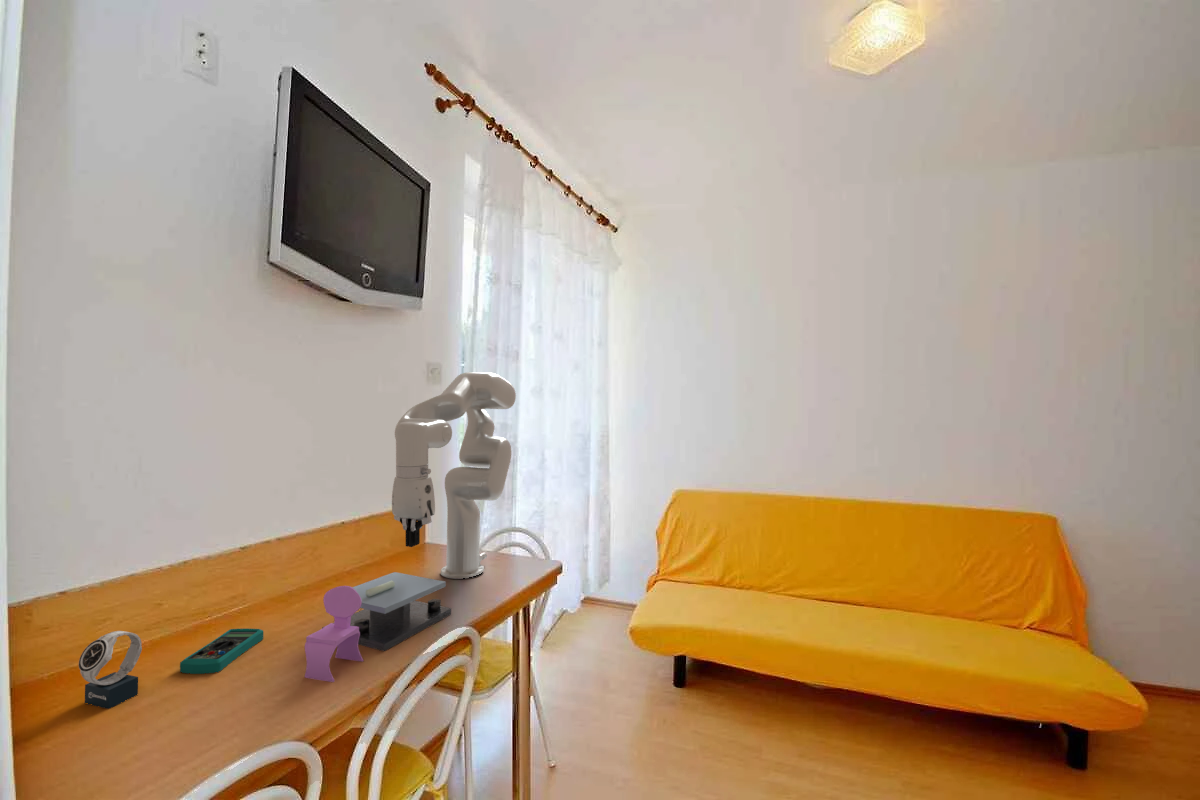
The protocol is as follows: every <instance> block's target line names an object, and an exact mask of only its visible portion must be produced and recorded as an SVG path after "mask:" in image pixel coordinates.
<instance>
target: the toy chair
mask: <svg viewBox="0 0 1200 800" xmlns="http://www.w3.org/2000/svg"><path fill="white" fill-rule="evenodd" d="M352 587H353V586H350V585H340V586H336V587H333V588H330V589H329V590H328V591H326V592H325V594H324V596H323V600H322V601H323V606H324V608H325V613H327V614H329V615H330V616H333V618H334V621H333V622H330V623H329V624H327V625H325V626H323V627H324V628H321V629H319V630H317V631H315V632H313V633H311V634H309V635H307V636H305V638H306V639H305V641H306V642H305V643H304V652H305V658H306V659H305V660H306V668H305V674H304V678H306V679H312V680H318V681H324V682H330V683H334V682H336V680H335V678H334V677H333V674H332V672H331V669H330V668H331V667H330V662H331V659H332V656H333V654H334V653H335V651H336V653H335V659H343V660H349V661H354V662H355V661H356V662H364V660H365V659H364V658H363V657H362V654H361V652H360V649H359V644H358V640H359V637H360V632H359V627H357V626H350V622H351V616H352V615H353V614H354V613H357V612H359V611H360V609H361V608H360V607H361V604H362V601H361V597H360V595H359V594H358V593H357V591H356V590H355V589H354V588H352Z"/></svg>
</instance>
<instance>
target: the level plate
mask: <svg viewBox="0 0 1200 800" xmlns="http://www.w3.org/2000/svg"><path fill="white" fill-rule="evenodd" d="M446 585H447V582H446V581H444V580H439V579H433V578H427V577H424V576H423V577H422V576H419V575H418V576H417V575H414V574H413V575H412V574H406V573H402V572H397V571H394V572H391V573H388V574H385V575H382V576H379V577H378V578H375V579H372V580H369V581H366V582H364V583H361V584H358V585H355V586H351V587H352V588H354V589H355V590H356V591H357V593H358V594H359V595H360V597H361V601H362V604H361V607H360V608H359V609H361V610H363V609H367V610H371V611H375V612H380V613H384V614H386V613H388V612H390V611H392V610H395V609H397V608H399V607H401V606H404V605H406V604H408V603H410V602H412V601H418V600H419V599H421V598H423V597H425V596H428V595H431V594H432V593H435V592H437V591H439V590H441V589H443V588H446Z"/></svg>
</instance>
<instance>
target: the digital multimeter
mask: <svg viewBox="0 0 1200 800" xmlns="http://www.w3.org/2000/svg"><path fill="white" fill-rule="evenodd" d="M263 640H264V630H263V629H260V628H231V629H229V630H227V631H226V632H224V633H223V634H221V635H220V636H218V637H217V638H215V639H213V640H212V641H211V642H209V643H207V644H206V645H204V646H203V647H201V648H199V649H198V650H196V651H195V652H193V653H192V654H190V655H188V656H186V657H185V658H184V659H183V660H182V661H180V663H179V673H181V672H182V673H183V674H189V673H190V674H191V675H192V674H193V675H196V674H197V675H200V674H201V675H204V674H205V673H206V674H216V673H215V672H217V673H219V671H220V672H221V671H222V670H224V669H225V668H226V667H227V666H228V664H229V665H230V664H231V663H233V662H234V661H235V660H236V659H237V657H238V656H239V657H240V656H242V655H243V654H245V653H246V652H247V651H248V649H249V648H250V649H251V648H253V647H255V646H256V645H257V644H258V642H259V643H260V642H262V641H263ZM255 644H256V645H255ZM252 646H253V647H252ZM250 649H249V650H250ZM245 651H246V652H245ZM244 652H245V653H244ZM242 653H243V654H242ZM241 654H242V655H241ZM239 657H238V658H239ZM233 660H234V661H233ZM232 661H233V662H232ZM224 667H225V668H224ZM223 668H224V669H223ZM206 674H205V675H206Z"/></svg>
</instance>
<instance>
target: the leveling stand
mask: <svg viewBox="0 0 1200 800" xmlns="http://www.w3.org/2000/svg"><path fill="white" fill-rule="evenodd" d="M450 615H451V616H452V608H451V607H447V606H443V605H442V600H441V599H438V598H433V599H429V600H428V601H427V602H424V601H419V600H415V601H412V602H410V603H408V604H406V605H404V606H401V607H399V608H397V609H395V610H392V611H390V612H388V613H386V614H384V613H380V612H375V611H371V610H367V609H361V610H358V611H356V612H355V613H354V614H353V615H352V616H351V622H350V626H357V627H359V632H360V637H359V640H358V646H359V645H360V646H363V647H367V648H370V649H374V650H377V651H378V650H379V651H381V652H386V651H387V650H389V649H391V648H394V647H395V646H396V645H398V644H401V643H402V642H404V641H405V640H407V639H409V638H411V637H414V636H415V635H417V634H418V633H420V632H422V631H423V630H425V629H427V628H429V627H431V626H432V625H434V624H436V623H438V622H440V621H442V620H443V618H444V619H445V618H447V617H448V616H450ZM324 627H325V626H322V628H324ZM322 628H321V629H322Z"/></svg>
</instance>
